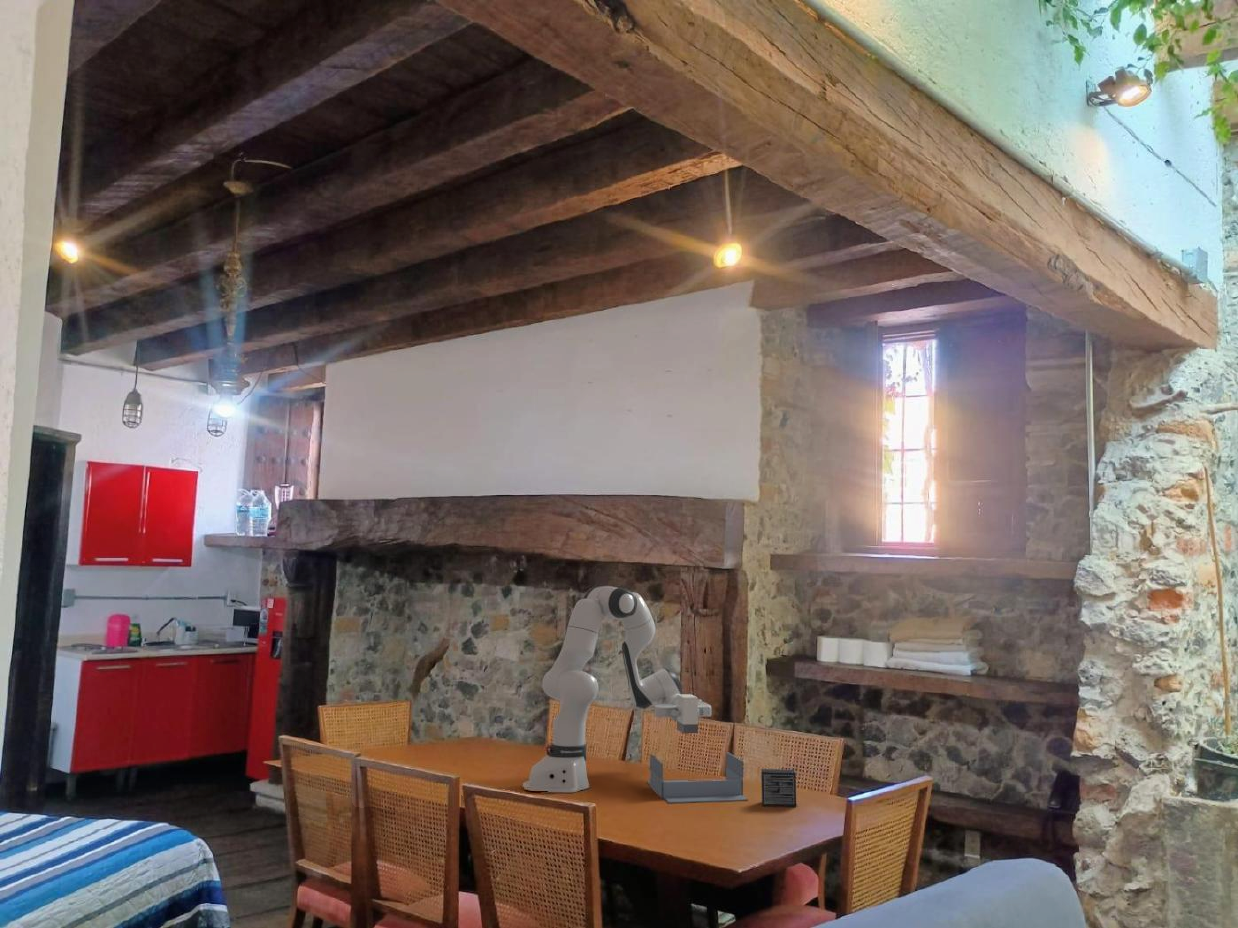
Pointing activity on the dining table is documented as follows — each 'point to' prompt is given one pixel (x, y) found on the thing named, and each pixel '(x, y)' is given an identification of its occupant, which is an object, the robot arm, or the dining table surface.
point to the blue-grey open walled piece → (699, 784)
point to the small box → (778, 787)
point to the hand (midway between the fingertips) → (688, 713)
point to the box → (687, 713)
